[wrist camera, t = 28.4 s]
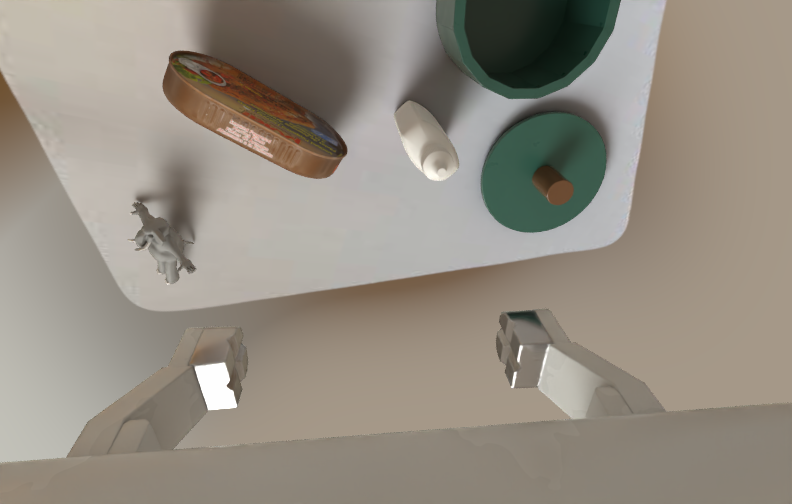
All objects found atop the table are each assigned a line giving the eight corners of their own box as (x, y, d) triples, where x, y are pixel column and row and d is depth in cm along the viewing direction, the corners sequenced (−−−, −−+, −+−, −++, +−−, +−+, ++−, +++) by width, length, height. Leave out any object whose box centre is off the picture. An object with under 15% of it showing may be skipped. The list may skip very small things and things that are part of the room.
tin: (349, 134, 41) (349, 165, 34) (333, 161, 43) (330, 196, 35) (191, 41, 36) (153, 54, 29) (179, 75, 37) (138, 96, 30)
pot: (440, -83, 33) (462, -100, 27) (589, -80, 34) (644, -95, 28) (432, 81, 40) (448, 99, 33) (558, 80, 41) (597, 97, 34)
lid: (487, 110, 41) (503, 125, 37) (615, 109, 43) (646, 123, 38) (472, 229, 48) (485, 254, 44) (584, 225, 49) (607, 249, 45)
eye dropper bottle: (436, 92, 40) (466, 128, 30) (445, 149, 43) (475, 199, 33) (390, 103, 40) (404, 143, 30) (403, 160, 43) (420, 213, 33)
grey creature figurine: (115, 255, 46) (98, 196, 39) (170, 232, 50) (163, 175, 43) (167, 322, 43) (159, 272, 37) (221, 293, 47) (223, 242, 40)
